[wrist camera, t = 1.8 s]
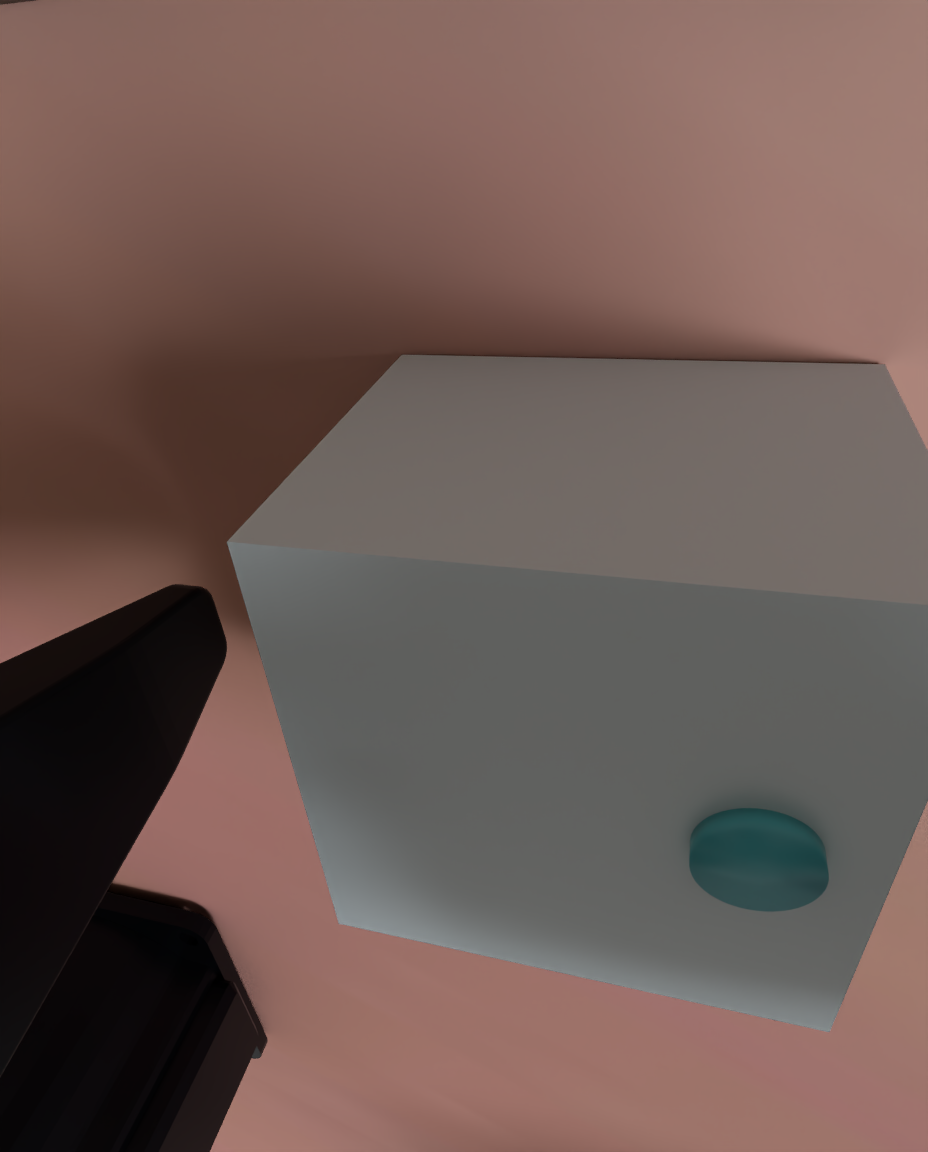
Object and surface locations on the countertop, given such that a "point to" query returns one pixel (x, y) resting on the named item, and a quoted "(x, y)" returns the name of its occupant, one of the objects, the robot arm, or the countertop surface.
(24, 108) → the countertop surface
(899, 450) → the white cube
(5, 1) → the post stand
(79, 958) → the robot arm
